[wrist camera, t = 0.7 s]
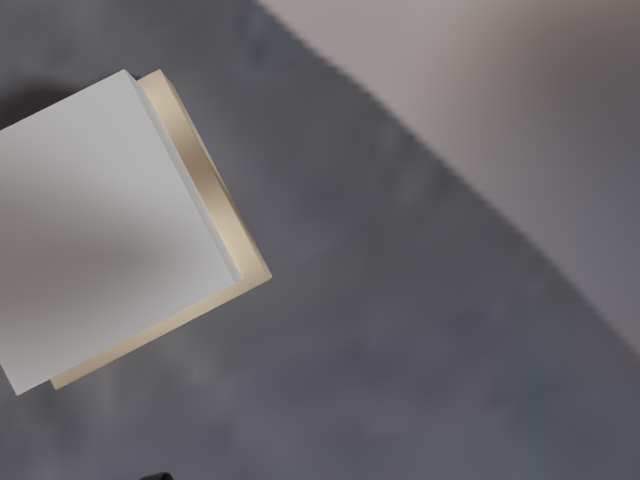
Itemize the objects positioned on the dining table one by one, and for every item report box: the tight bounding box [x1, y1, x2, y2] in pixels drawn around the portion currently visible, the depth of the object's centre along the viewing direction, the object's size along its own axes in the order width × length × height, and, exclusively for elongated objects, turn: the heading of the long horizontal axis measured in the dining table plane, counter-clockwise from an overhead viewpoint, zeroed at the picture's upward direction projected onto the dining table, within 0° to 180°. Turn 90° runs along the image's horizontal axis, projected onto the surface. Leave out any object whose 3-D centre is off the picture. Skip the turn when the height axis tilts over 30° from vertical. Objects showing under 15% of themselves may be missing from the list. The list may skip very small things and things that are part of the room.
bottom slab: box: [50, 69, 272, 390], centre depth 21 cm, size 9×9×2 cm
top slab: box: [0, 69, 243, 396], centre depth 19 cm, size 8×8×2 cm
